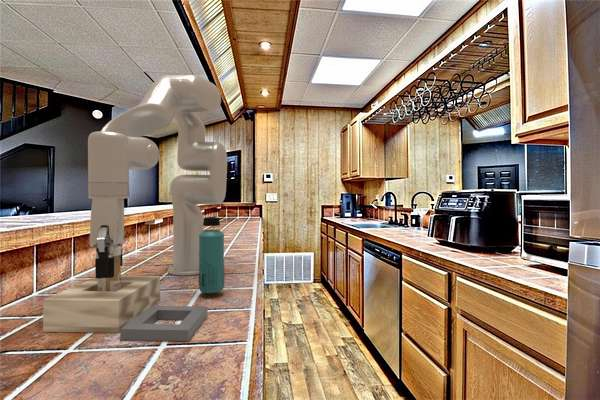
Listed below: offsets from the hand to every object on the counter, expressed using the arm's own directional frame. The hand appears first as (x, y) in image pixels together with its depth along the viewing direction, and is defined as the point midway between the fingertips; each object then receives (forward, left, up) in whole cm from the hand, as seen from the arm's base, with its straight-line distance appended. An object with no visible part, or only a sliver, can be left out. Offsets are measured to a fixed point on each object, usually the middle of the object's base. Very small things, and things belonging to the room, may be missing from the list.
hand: (110, 271), depth 70 cm
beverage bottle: (-14, +18, -9) cm, 24 cm away
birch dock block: (0, 0, -9) cm, 9 cm away
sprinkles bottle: (0, 0, -8) cm, 8 cm away
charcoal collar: (+6, +15, -9) cm, 19 cm away
